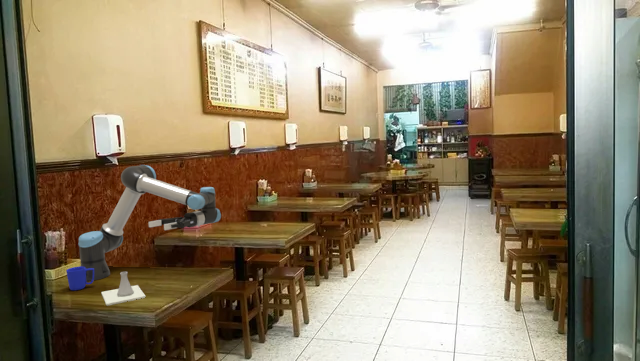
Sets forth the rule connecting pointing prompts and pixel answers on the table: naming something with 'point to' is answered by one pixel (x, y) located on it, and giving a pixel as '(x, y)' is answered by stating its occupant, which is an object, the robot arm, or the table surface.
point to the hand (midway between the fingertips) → (156, 226)
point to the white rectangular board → (113, 298)
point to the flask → (124, 285)
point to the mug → (78, 277)
